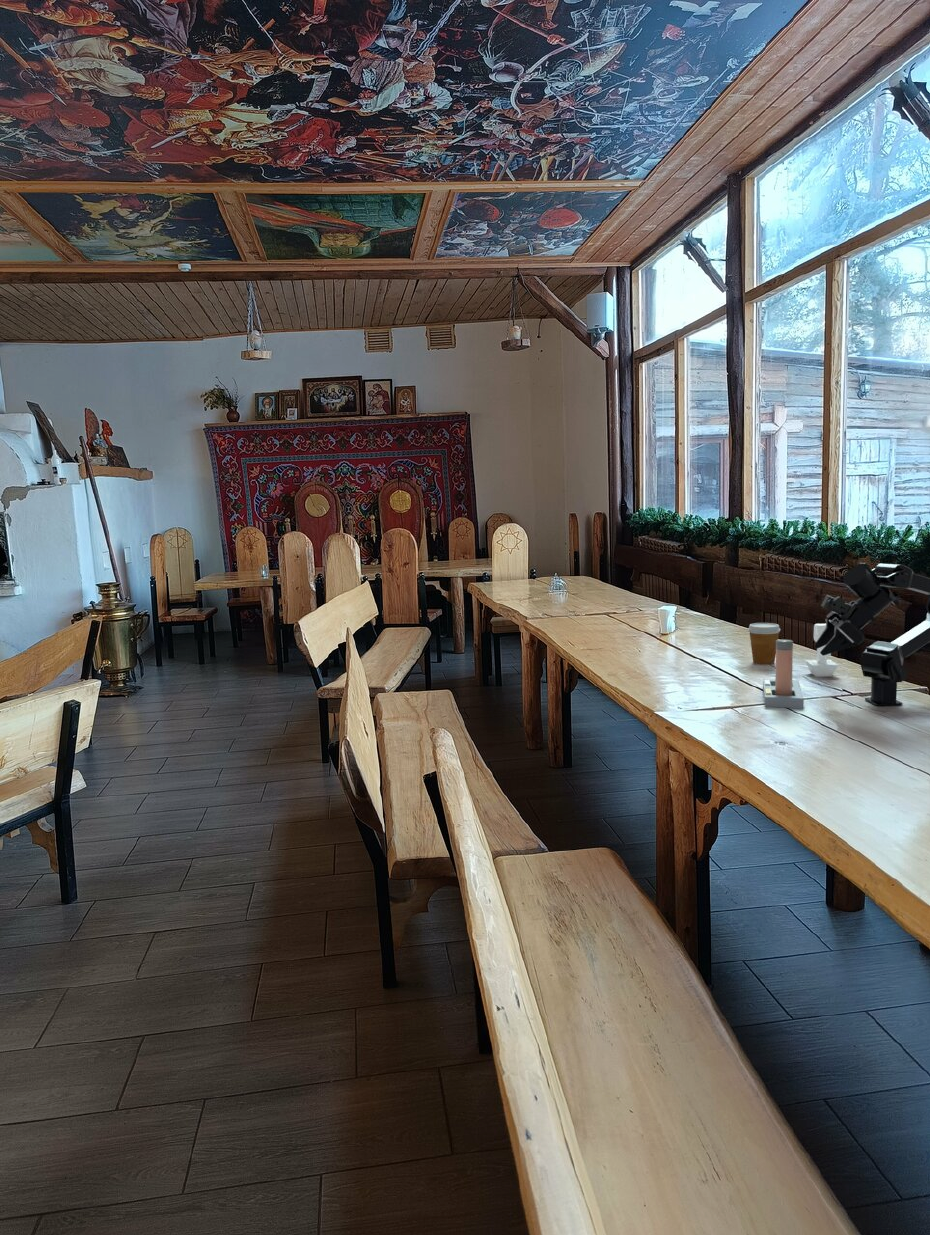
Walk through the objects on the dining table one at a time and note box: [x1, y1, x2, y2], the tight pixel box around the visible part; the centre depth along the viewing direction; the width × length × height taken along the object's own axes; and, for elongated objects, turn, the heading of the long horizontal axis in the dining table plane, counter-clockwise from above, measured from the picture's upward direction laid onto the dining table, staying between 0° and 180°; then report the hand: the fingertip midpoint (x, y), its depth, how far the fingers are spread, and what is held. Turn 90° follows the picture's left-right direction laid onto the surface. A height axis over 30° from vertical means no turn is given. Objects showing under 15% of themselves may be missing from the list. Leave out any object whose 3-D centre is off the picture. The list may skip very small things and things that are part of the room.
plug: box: [774, 639, 794, 696], centre depth 204 cm, size 4×4×16 cm
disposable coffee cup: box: [747, 622, 781, 666], centre depth 251 cm, size 10×10×12 cm
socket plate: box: [762, 678, 805, 709], centre depth 209 cm, size 20×9×3 cm, turn 161°
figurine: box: [804, 622, 840, 678], centre depth 231 cm, size 7×9×15 cm
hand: (818, 650), depth 201 cm, fingers open, 9 cm apart
